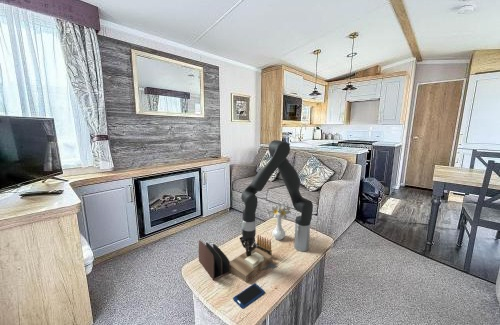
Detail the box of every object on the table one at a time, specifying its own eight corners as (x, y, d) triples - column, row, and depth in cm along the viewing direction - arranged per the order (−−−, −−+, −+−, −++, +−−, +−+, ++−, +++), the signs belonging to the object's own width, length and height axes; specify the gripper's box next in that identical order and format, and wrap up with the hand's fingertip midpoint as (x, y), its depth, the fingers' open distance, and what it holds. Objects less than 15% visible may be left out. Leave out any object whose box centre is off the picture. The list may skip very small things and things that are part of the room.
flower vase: (262, 236, 147) (262, 203, 143) (284, 231, 154) (285, 199, 150) (271, 245, 135) (271, 209, 131) (294, 240, 142) (295, 205, 138)
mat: (271, 263, 117) (271, 262, 117) (284, 270, 111) (284, 270, 111) (247, 281, 103) (247, 281, 103) (260, 291, 97) (260, 291, 97)
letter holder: (213, 281, 103) (212, 256, 101) (198, 260, 119) (197, 238, 117) (230, 273, 109) (230, 249, 107) (214, 254, 125) (213, 233, 123)
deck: (254, 252, 127) (254, 246, 127) (272, 262, 118) (272, 256, 117) (227, 269, 112) (227, 263, 111) (245, 282, 102) (245, 275, 101)
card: (255, 255, 117) (255, 251, 117) (263, 260, 113) (263, 256, 113) (244, 263, 111) (244, 259, 111) (252, 268, 107) (252, 264, 106)
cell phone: (232, 299, 92) (232, 297, 92) (255, 283, 101) (255, 282, 101) (242, 310, 87) (242, 308, 86) (265, 292, 96) (265, 291, 95)
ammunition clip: (255, 252, 127) (256, 234, 126) (257, 251, 129) (257, 233, 127) (270, 259, 121) (270, 240, 119) (271, 257, 122) (272, 239, 120)
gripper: (262, 228, 110) (261, 258, 113) (245, 221, 119) (245, 248, 122) (253, 234, 105) (252, 264, 108) (235, 225, 114) (235, 253, 117)
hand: (248, 255), depth 115 cm, fingers closed
